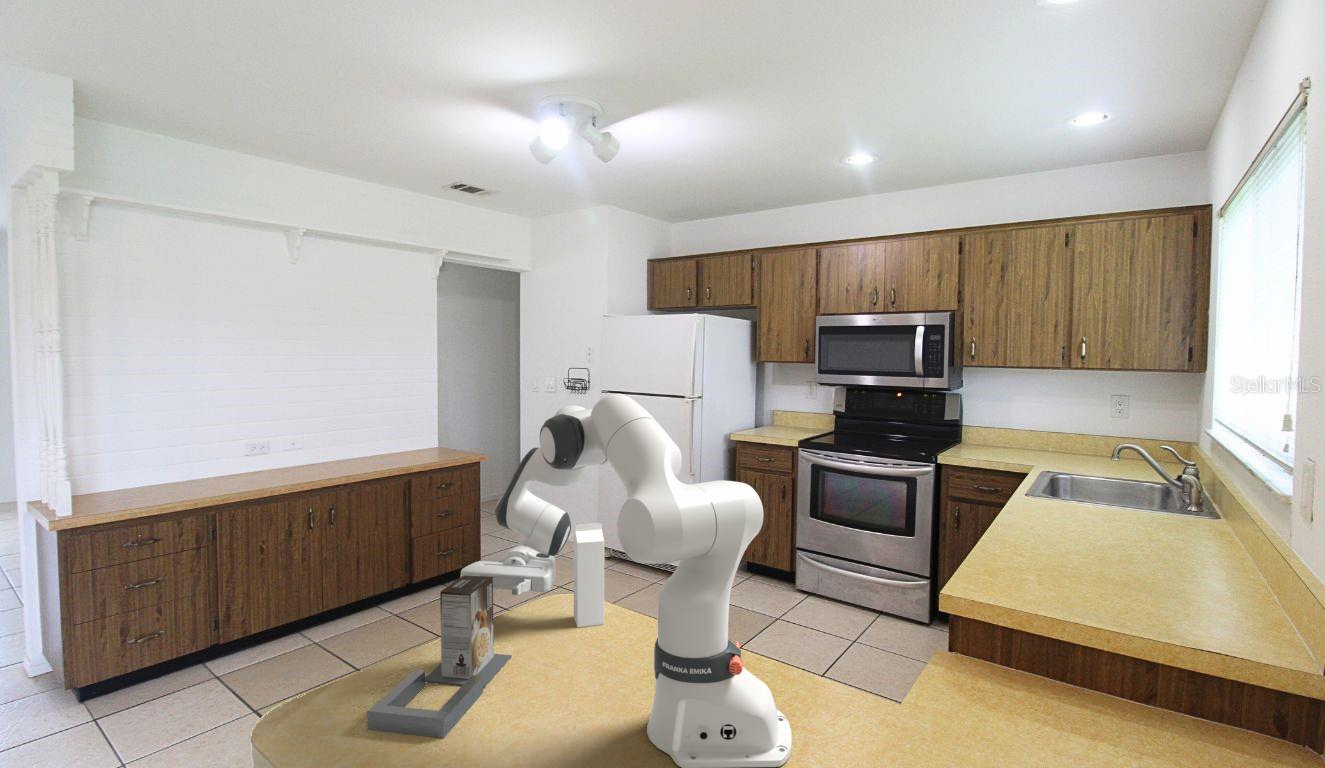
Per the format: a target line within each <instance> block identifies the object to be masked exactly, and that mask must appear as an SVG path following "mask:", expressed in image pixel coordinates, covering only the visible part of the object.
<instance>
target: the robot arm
mask: <svg viewBox="0 0 1325 768" xmlns="http://www.w3.org/2000/svg"><path fill="white" fill-rule="evenodd" d="M539 445H540V447H532V448H531V449H530V450H529V451H528V452H527V453H526V454H525V455H524V456H523V458H522V459H521V461H520V463H519V465H518V466H517V468H516V470H515V472H514V473H513V476H512V477H511V479H510V482H509V483H508V485H507V487H506V490H505V491H504V493H503V495H502V496H501V497H500V499H498V501H497V504H496V507H495V509H494V515H495V519H496V522H497V523H498V525H499V526H502V527H503V528H505V529H508V530H509V531H510V530H511V531H513V532H515V533H517V534H518V535H520V536H522V537H523V538H525V539H523V540H521V542H519V543H518V544H517V545H515V546H514V547H513V548H511V549H509V550H508V551H507V552H506V553H505V554H504V555H502V556H501V557H500V560H499V561H491V560H490V561H489V560H479V561H475V562H473V563H471V564H468V565H467V566H465V567H463V568H462V569H461V570H460V577H459V578H461V577H462V576H464V575H465V576H486V577H493V590H495V589H496V590H508V591H509V590H510V591H511V595H513V596H519V595H520V594H523V593H526V592H536V593H547V592H549V591H550V590H551V589H553V587H554V585H555V581H556V558H555V556H557V555H558V554H559V553H560V552H561V551H562V549H563V548H564V546H565V545H566V543H567V541H568V539H569V537H570V535H571V532H572V522H571V519H570V515H569V513H568V512H567V511H565V510H564V509H561V508H560V507H558V506H556V505H554V504H552V503H550V502H548V501H546V500H545V499H542V498H541V497H539V496H536V495H535V494H534V493H532V492H530V491H529V489H528V488H529V486H530V484H531V483H532V482H537V483H542V484H545V485H550V486H552V487H566V486H570V485H574V484H576V483H577V482H579V481H580V480H581V479H583V478H584V476H585V475H586V473H587V471H588V469H589V467H591V466H596V465H597V466H598V465H604V464H610V466H611V467H612V469H613V470H614V471H615V473H616V474H617V476H618V478H619V480H620V481H621V482H622V484H623V486H624V487H625V490H626V495H627V498H626V501H625V502H624V503H623V505H622V506H621V508H620V510H619V513H618V517H617V523H616V531H617V532H616V534H617V538H618V540H619V543H620V546H621V548H622V550H623V551H624V552H625V554H626V555H627V557H629V559H631V560H632V561H634V562H636V563H639V564H670V563H674V562H679V563H678V566H677V567H676V569H675V571H674V572H673V573H672V575H670V576H669V577H668V579H666V581H665V582H664V583H663V584H662V585H661V588H660V590H659V593H658V596H657V637H656V640H655V643H654V649H653V671H654V678H655V687H654V688H655V689H654V694H653V695H654V696H653V702H652V707H651V712H650V714H649V715H650V716H649V719H648V722H647V724H646V725H647V726H646V735H647V737H648V739H649V741H650V742H651V743H652V744H653V745H654V746H655V747H656V748H657V749H659V750H661V751H663V752H665V754H667V755H669V756H670V757H671V759H672V760H673V762H674V763H675V764H676V765H677V766H678V767H681V768H776V767H778V768H779V767H781V766H782V765H784V764H785V763H786V762H787V761H788V759H789V758H790V755H791V753H792V749H793V748H792V747H793V737H792V729H791V726H790V722H789V720H788V719H787V717H786V715H784V713H782V712H781V711H780V710H779V709H777V707H776V702H775V699H774V696H773V693H772V690H771V689H770V688H769V686H768V685H767V684H766V683H765V682H764V681H763V680H761V679H759V678H758V677H756V676H755V675H754V674H753V673H751V671H749V670H747V668H745V667H744V666H743V665H744V662H743V660H742V649H740V647H741V646H740V643H739V641H738V640H737V641H736V644H735V643H733V641H731V640H730V639H729V615H730V613H729V612H730V611H729V610H730V597H731V592H732V588H733V585H734V584H733V583H734V579H735V576H736V574H737V571H738V568H739V565H740V562H741V560H742V558H743V556H744V554H745V551H746V550H747V549H748V546H749V545H750V544H751V542H752V541H753V540H754V539H755V537H756V536H758V534H759V532H761V529H762V527H763V523H764V506H763V503H762V500H761V498H760V496H759V494H758V492H756V490H755V489H754V488H753V487H752V486H751V485H749V484H747V483H745V482H741V481H733V480H725V479H724V480H722V479H720V480H719V479H717V480H712V481H704V482H698V483H692V484H691V483H688V484H687V483H684V482H682V481H680V480H679V479H678V476H679V475H680V473H681V471H682V466H683V457H682V455H683V454H682V452H681V449H680V447H679V446H678V445H677V444H676V443H675V441H674V440H673V439H672V438H671V436H670V435H669V434H668V433H667V431H666V430H665V429H664V428H663V427H662V426H661V425H660V423H659V422H658V421H657V420H656V419H655V417H654V416H653V415H652V414H650V412H649V411H647V409H646V408H644V407H643V406H642V405H641V404H639V403H638V402H637V401H636V400H634V399H633V398H631V397H630V396H628V395H626V394H623V393H612V394H608V395H606V396H604V397H602V398H601V399H599V400H598V401H597V402H596V403H595V405H594V406H593V407H592V408H586V407H584V406H580V405H575V404H574V405H572V404H571V405H566V406H564V407H562V408H560V409H558V410H557V412H555V414H554V416H552V417H550V418H547V419H546V420H545V421H544V423H543V424H542V426H541V428H540V432H539Z"/></svg>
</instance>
